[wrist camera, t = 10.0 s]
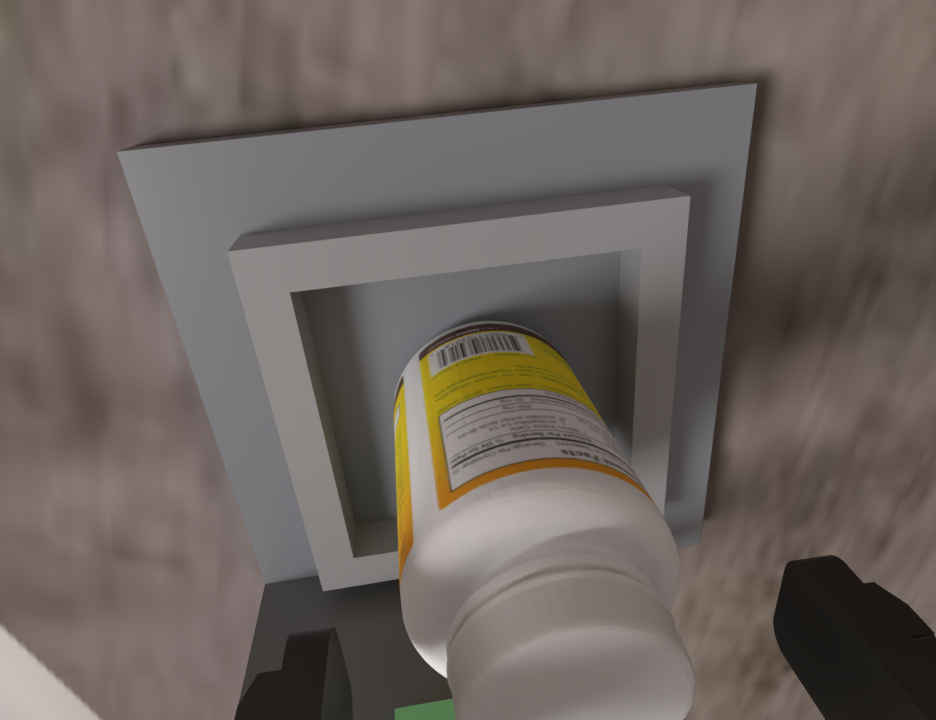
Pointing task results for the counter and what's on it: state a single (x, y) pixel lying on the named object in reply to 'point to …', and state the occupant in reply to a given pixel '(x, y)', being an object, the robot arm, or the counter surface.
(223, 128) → the counter surface
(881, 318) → the counter surface
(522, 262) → the charging dock
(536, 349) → the supplement bottle
